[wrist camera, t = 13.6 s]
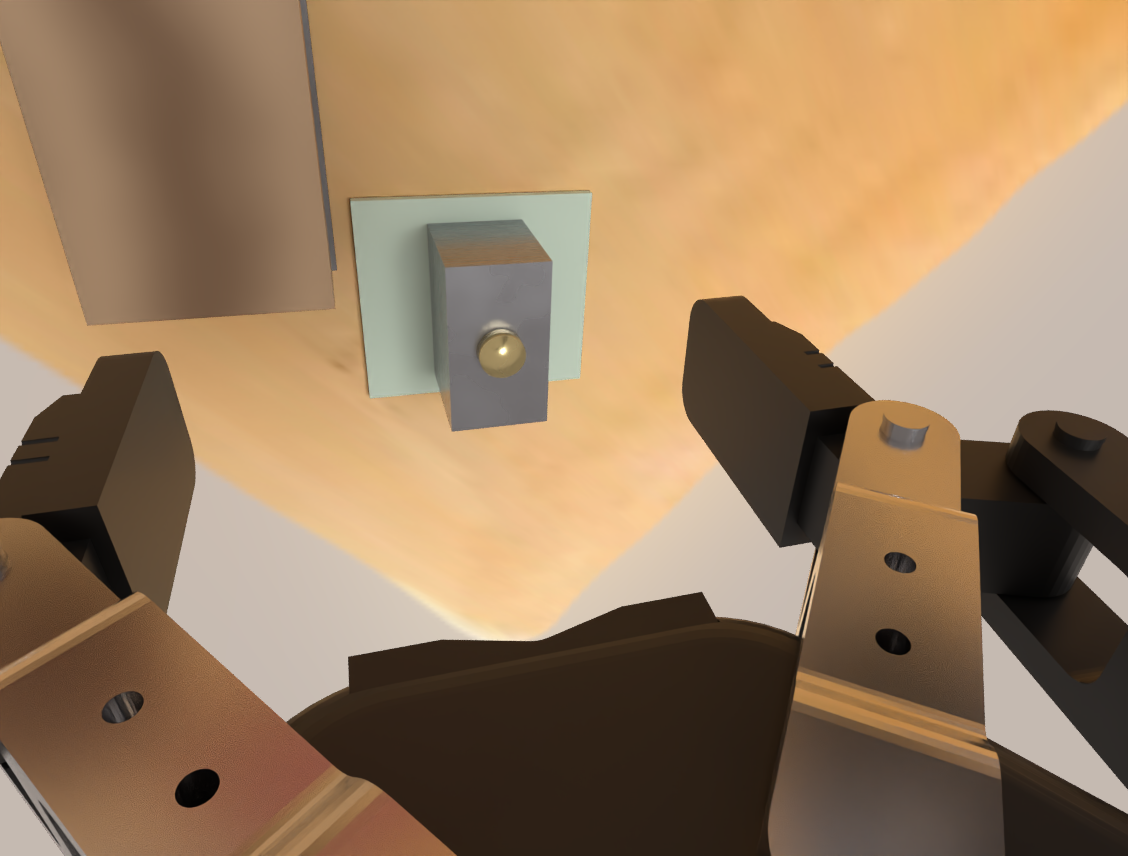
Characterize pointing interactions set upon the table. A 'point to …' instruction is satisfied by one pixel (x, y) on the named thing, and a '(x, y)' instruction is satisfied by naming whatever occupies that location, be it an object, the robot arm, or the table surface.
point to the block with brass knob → (490, 322)
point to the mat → (402, 279)
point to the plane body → (178, 153)
